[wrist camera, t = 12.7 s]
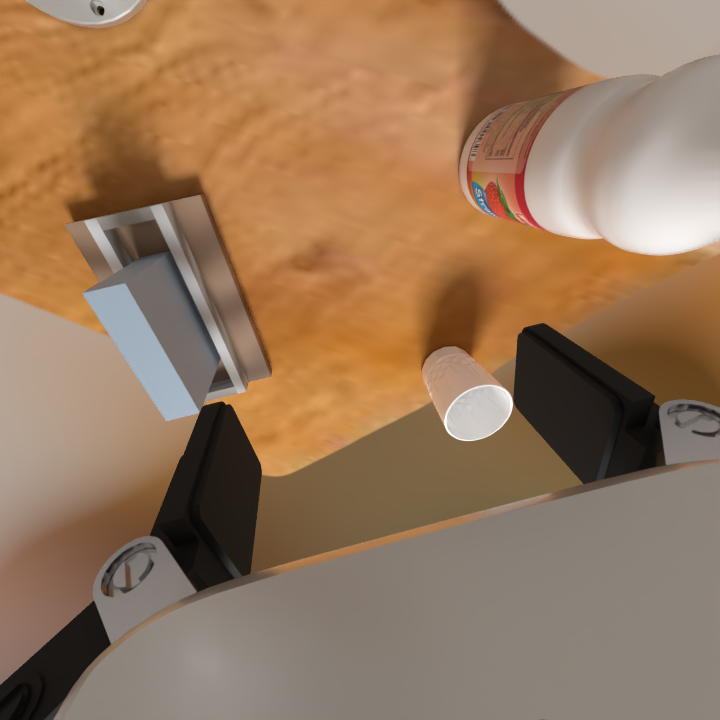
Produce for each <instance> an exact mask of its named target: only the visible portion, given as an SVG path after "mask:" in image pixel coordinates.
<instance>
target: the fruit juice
mask: <svg viewBox="0 0 720 720" xmlns="http://www.w3.org/2000/svg"><path fill="white" fill-rule="evenodd" d="M459 179H460V184H461V188H462V191H463V193H464V195H465V197H466V199H467V200H468V201H469V203H470V204H471V205H472V206H473V207H475V208H476V209H478V210H479V211H481V212H483V213H485V214H488V215H492V216H495V217H499V218H503V219H506V220H510V221H513V222H517V223H520V224H524V225H528V226H531V227H535V228H538V229H542V230H546V231H549V232H552V233H555V234H558V235H563V236H568V237H573V238H580V239H600V238H604V239H605V240H607V241H608V242H610V243H611V244H613V245H615V246H617V247H619V248H621V249H623V250H626V251H630V252H635V253H641V254H647V255H671V254H678V253H683V252H687V251H691V250H694V249H698V248H701V247H703V246H706V245H709V244H711V243H714V242H716V241H718V240H720V55H714V56H709V57H704V58H701V59H698V60H695V61H693V62H690V63H687V64H685V65H682V66H680V67H678V68H676V69H674V70H672V71H670V72H668V73H666V74H664V75H663V76H661V77H660V76H656V75H648V74H643V75H642V74H639V75H629V76H622V77H616V78H610V79H606V80H602V81H598V82H595V83H592V84H588V85H585V86H581V87H577V88H573V89H569V90H566V91H562V92H558V93H554V94H550V95H546V96H543V97H539V98H535V99H531V100H527V101H523V102H520V103H516V104H512V105H508V106H505V107H502V108H500V109H498V110H496V111H494V112H493V113H491V114H489V115H488V116H487V117H485V118H484V119H483V120H482V121H481V122H480V123H479V124H478V125H477V126H476V127H475V129H474V130H473V131H472V133H471V134H470V136H469V138H468V139H467V141H466V143H465V146H464V148H463V151H462V154H461V159H460V165H459Z"/></svg>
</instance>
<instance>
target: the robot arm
mask: <svg viewBox="0 0 720 720" xmlns="http://www.w3.org/2000/svg"><path fill="white" fill-rule="evenodd" d="M25 1H27V2H28V3H30V4H31V5H33V6H34V7H36V8H38V9H39V10H41V11H43V12H45V13H47V14H48V15H50V16H52V17H54V18H56V19H58V20H60V21H63V22H66V23H69V24H73V25H76V26H79V27H87V28H96V29H98V28H106V27H113V26H116V25H118V24H121V23H123V22H125V21H128V20H129V19H131V18H132V17H133V16H134V15H135V14H137V13H138V12H139V11H140V10H141V9H142V8H143V6H144V5H145V4H146V2H147V1H148V0H25ZM101 8H104V10H105V12H104V15H103V16H101V14H100V9H101ZM654 399H655V396H654V395H653V394H651V393H650V392H648V391H647V390H645V389H644V388H642V387H641V386H639V385H638V384H636V383H635V382H633V381H631V380H630V379H628V378H627V377H625V376H624V375H622V374H621V373H619V372H618V371H616V370H615V369H613V368H611V367H610V366H609V365H607V364H606V363H604V362H602V361H601V360H600V359H598V358H597V357H595V356H593V355H592V354H590V353H589V352H587V351H585V350H584V349H583V348H581V347H580V346H578V345H577V344H575V343H574V342H572V341H571V340H569V339H568V338H566V337H565V336H563V335H562V334H560V333H559V332H557V331H555V330H554V329H552V328H551V327H549V326H548V325H546V324H544V323H541V324H537V325H533V326H529V327H525V328H524V329H523V330H522V333H520V334H519V335H518V340H517V354H516V370H515V383H514V404H515V406H516V408H517V409H518V410H519V411H520V413H521V414H522V415H523V416H524V417H525V418H526V419H527V420H528V422H529V423H530V424H531V425H532V426H533V427H534V428H535V430H536V431H537V432H538V433H539V434H540V435H541V436H542V437H543V438H544V440H545V441H546V442H547V443H548V444H549V445H550V446H551V448H552V449H553V450H554V451H555V452H556V453H557V454H558V456H559V457H560V458H561V459H562V460H563V461H564V462H565V463H566V465H567V466H568V467H569V468H570V469H571V470H572V471H573V472H574V474H575V475H576V476H577V477H578V478H579V479H580V480H581V481H582V483H583V485H579V486H575V487H572V488H568V489H564V490H560V491H556V492H552V493H549V494H545V495H541V496H537V497H533V498H529V499H525V500H521V501H518V502H514V503H510V504H506V505H502V506H498V507H495V508H491V509H487V510H483V511H480V512H476V513H472V514H468V515H464V516H461V517H457V518H453V519H450V520H446V521H442V522H438V523H434V524H431V525H427V526H423V527H419V528H415V529H412V530H408V531H404V532H401V533H397V534H393V535H389V536H386V537H382V538H378V539H375V540H371V541H367V542H363V543H360V544H356V545H353V546H349V547H345V548H341V549H338V550H334V551H330V552H326V553H323V554H319V555H315V556H312V557H308V558H304V559H301V560H297V561H294V562H290V563H287V564H283V565H280V566H276V567H273V568H270V569H266V570H263V571H260V572H256V573H253V574H250V572H251V563H252V553H253V545H254V536H255V528H256V519H257V511H258V502H259V493H260V484H261V476H262V469H261V464H260V462H259V460H258V458H257V456H256V454H255V452H254V450H253V448H252V446H251V443H250V441H249V439H248V437H247V435H246V433H245V431H244V429H243V427H242V425H241V423H240V421H239V419H238V417H237V415H236V413H235V411H234V409H233V407H232V406H231V405H230V404H228V405H226V404H225V403H224V402H222V401H221V402H217V403H213V404H209V405H205V406H203V407H202V408H201V411H200V413H199V416H198V419H197V421H196V424H195V426H194V429H193V432H192V434H191V437H190V439H189V442H188V444H187V447H186V450H185V452H184V455H183V456H182V457H181V458H180V460H179V463H178V465H177V468H176V470H175V473H174V475H173V478H172V480H171V483H170V485H169V488H168V491H167V493H166V496H165V498H164V501H163V503H162V506H161V508H160V511H159V513H158V516H157V518H156V521H155V524H154V526H153V529H152V531H151V534H150V536H146V537H141V538H138V539H136V540H134V541H131V542H129V543H128V544H127V545H125V546H123V547H122V548H120V549H119V550H118V551H117V552H116V553H115V554H114V555H113V556H112V557H110V559H109V560H108V561H107V562H106V563H105V565H104V566H103V567H102V568H101V570H100V572H99V574H98V576H97V577H96V579H95V583H94V587H93V597H94V601H93V602H92V603H91V604H90V605H89V606H87V607H86V608H85V609H84V610H83V611H82V612H81V613H80V614H79V615H77V617H75V618H74V619H73V620H72V621H71V622H70V623H69V624H68V625H66V626H65V627H64V628H63V629H62V630H61V631H60V632H59V633H58V634H57V635H55V636H54V637H53V638H52V639H51V640H50V641H49V642H48V643H46V645H44V646H43V647H42V648H41V649H40V650H39V651H38V652H37V653H35V654H34V655H33V656H32V657H31V658H30V659H29V660H28V661H27V662H26V663H24V664H23V665H22V666H21V667H20V668H19V669H18V670H17V671H15V672H14V673H13V674H12V675H11V676H10V677H9V678H8V679H7V680H6V681H4V682H3V683H2V684H1V685H0V720H720V408H718V407H716V406H713V405H710V404H707V403H703V402H698V401H693V400H672V401H669V402H667V403H664V404H663V405H662V406H661V407H660V406H658V405H657V404H655V403H654Z"/></svg>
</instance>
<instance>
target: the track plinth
mask: <svg viewBox="0 0 720 720" xmlns="http://www.w3.org/2000/svg"><path fill="white" fill-rule="evenodd" d="M64 225H65V226H66V228H67V230H68V231H69V233H70V234H71V236H72V238H73V239H74V241H75V243H76V244H77V246H78V248H79V249H80V251H81V253H82V254H83V256H84V257H85V259H86V261H87V262H88V264H89V266H90V267H91V269H92V271H93V272H94V274H95V276H96V277H97V279H98V280H99V282H101V281H103V280H105V279H106V278H108V277H109V276H111V275H113V274H114V273H116V272H118V271H119V270H121V269H122V268H124V267H126V266H127V265H129V264H131V263H132V262H134V261H135V260H137V259H139V258H142V257H146V256H151V255H155V254H159V253H163V252H168V251H171V253H172V255H173V257H174V259H175V261H176V264H177V266H178V268H179V270H180V272H181V274H182V276H183V278H184V281H185V283H186V285H187V287H188V289H189V291H190V293H191V295H192V298H193V300H194V302H195V304H196V306H197V308H198V310H199V312H200V315H201V317H202V319H203V321H204V323H205V325H206V327H207V329H208V332H209V334H210V336H211V338H212V340H213V342H214V344H215V346H216V349H217V351H218V353H219V355H220V357H221V360H220V362H219V365H218V367H217V370H216V373H215V375H214V378H213V380H212V383H211V385H210V388H209V391H208V393H207V396H206V398H205V401H204V402H206V401H210V400H214V399H218V398H222V397H226V396H230V395H234V394H239V393H243V392H246V391H247V386H248V382H250V381H254V380H259V379H263V378H267V377H271V373H272V369H271V366H270V364H269V361H268V358H267V356H266V353H265V351H264V348H263V345H262V343H261V340H260V338H259V335H258V333H257V330H256V327H255V325H254V322H253V320H252V317H251V314H250V312H249V309H248V307H247V304H246V301H245V299H244V296H243V294H242V291H241V288H240V286H239V283H238V281H237V278H236V275H235V273H234V270H233V268H232V265H231V263H230V260H229V257H228V255H227V252H226V250H225V247H224V244H223V242H222V239H221V237H220V234H219V231H218V229H217V226H216V224H215V221H214V218H213V216H212V213H211V211H210V208H209V205H208V203H207V200H206V198H205V195H204V194H199V195H195V196H190V197H186V198H181V199H177V200H172V201H167V202H163V203H158V204H154V205H149V206H144V207H140V208H135V209H131V210H126V211H122V212H117V213H112V214H108V215H103V216H99V217H94V218H90V219H85V220H80V221H76V222H72V223H68V224H64Z"/></svg>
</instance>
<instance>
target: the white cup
mask: <svg viewBox="0 0 720 720" xmlns="http://www.w3.org/2000/svg"><path fill="white" fill-rule="evenodd" d="M422 376H423V380H424V382H425V384H426V386H427V389H428V392H429V394H430V396H431V398H432V401H433V403H434V405H435V407H436V409H437V411H438V413H439V415H440V418H441V420H442V422H443V424H444V426H445V428H446V430H447V432H448V433H449V434H450V435H451V436H453V437H454V438H456V439H459V440H464V441H473V440H479V439H482V438H485V437H487V436H489V435H491V434H493V433H494V432H496V431H497V430H498V429H500V428H501V427H502V426H503V425H504V424H505V422H506V421H507V420H508V418H509V416H510V414H511V411H512V407H513V401H512V397H511V395H510V393H509V392H508V391H507V390H506V389H505V388H504V387H503V386H502V385H501V384H500V383H499V382H498V381H497V380H496V379H495V378H494V377H493V376H492V375H491V374H490V373H489V372H488V371H487V370H486V369H484V368H483V367H482V366H481V365H480V364H479V363H478V362H477V361H476V360H474V359H473V358H472V357H471V356H470V355H469V354H468V353H467V352H466V351H465V350H463V349H460V348H458V347H456V346H450V347H443V348H440V349H438V350H436V351H434V352H433V353H432V354H431V355H430V356H429V357H428V358H427V359H426V360H425V363H424V365H423V368H422Z"/></svg>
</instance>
